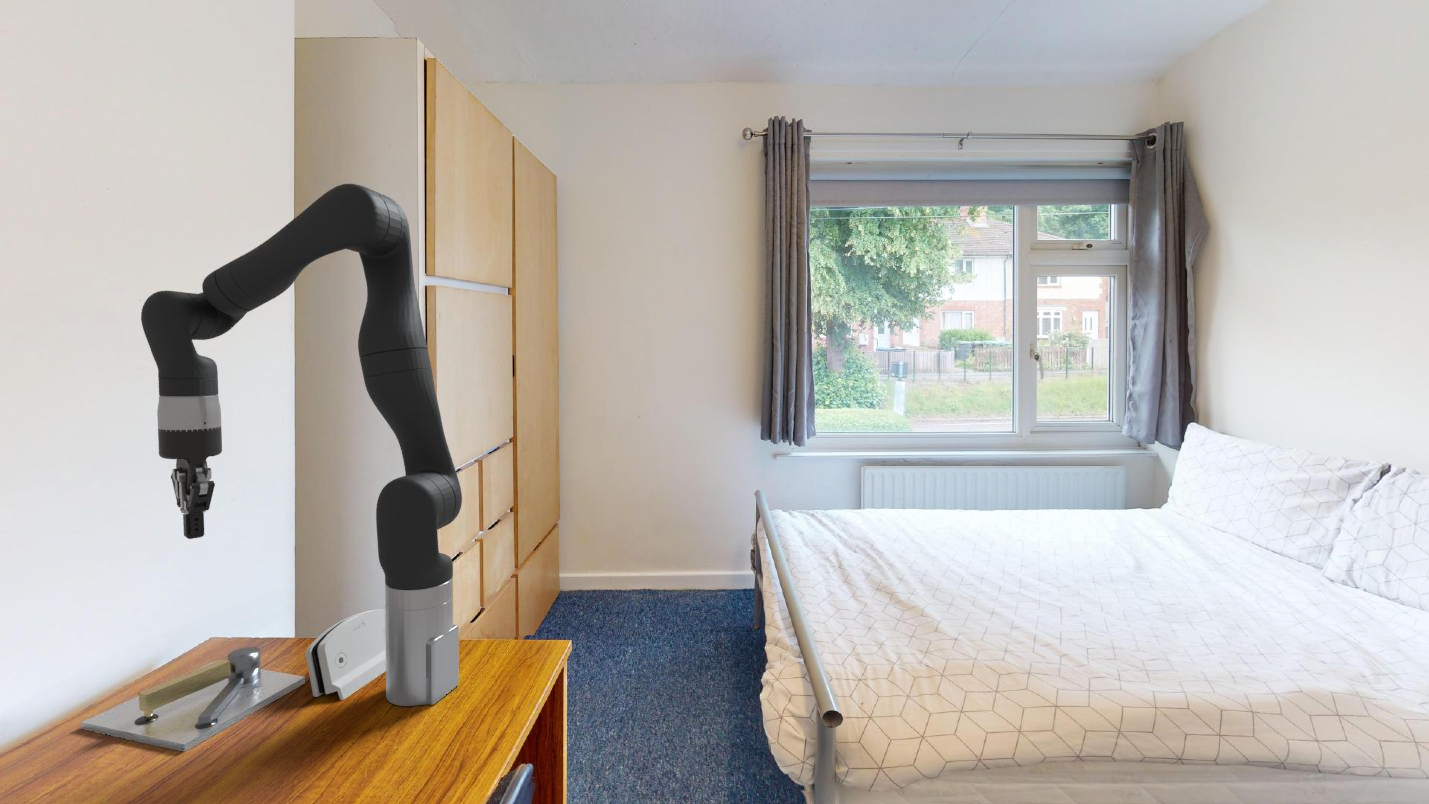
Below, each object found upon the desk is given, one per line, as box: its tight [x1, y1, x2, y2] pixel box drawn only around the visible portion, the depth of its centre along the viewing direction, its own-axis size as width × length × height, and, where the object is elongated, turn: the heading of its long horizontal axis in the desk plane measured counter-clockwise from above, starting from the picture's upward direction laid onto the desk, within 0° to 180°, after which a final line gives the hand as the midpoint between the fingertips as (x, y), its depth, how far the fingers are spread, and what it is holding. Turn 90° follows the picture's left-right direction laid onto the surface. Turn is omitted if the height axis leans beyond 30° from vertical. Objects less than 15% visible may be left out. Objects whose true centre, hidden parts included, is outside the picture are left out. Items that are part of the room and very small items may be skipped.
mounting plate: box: [80, 646, 306, 753], centre depth 93 cm, size 18×18×5 cm
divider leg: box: [138, 658, 231, 720], centre depth 91 cm, size 10×2×4 cm, turn 159°
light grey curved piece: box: [305, 608, 386, 701], centre depth 104 cm, size 17×5×10 cm, turn 169°
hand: (194, 536), depth 100 cm, fingers closed
